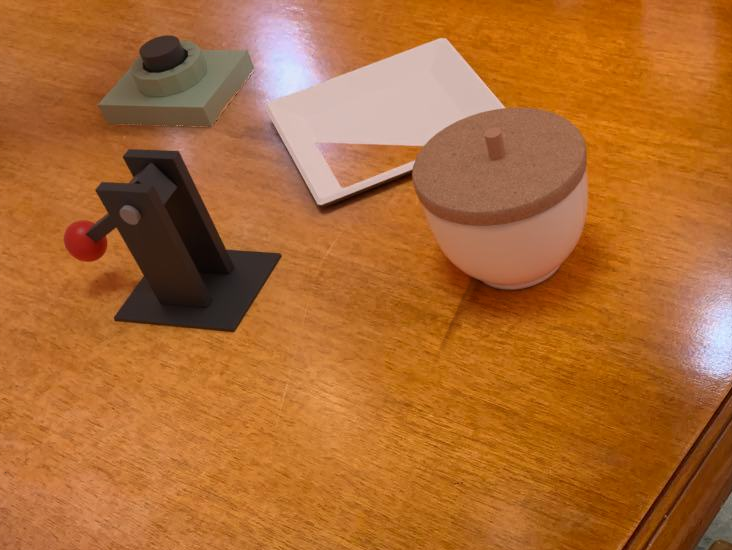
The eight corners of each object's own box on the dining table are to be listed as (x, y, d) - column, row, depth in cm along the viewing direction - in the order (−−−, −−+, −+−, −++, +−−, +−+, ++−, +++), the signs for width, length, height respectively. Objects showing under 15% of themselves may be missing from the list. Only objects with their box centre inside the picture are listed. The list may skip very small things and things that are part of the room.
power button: (139, 74, 100) (131, 57, 99) (159, 52, 102) (151, 35, 101) (174, 75, 99) (167, 57, 98) (193, 52, 101) (186, 35, 100)
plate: (325, 224, 87) (317, 203, 85) (270, 122, 98) (262, 102, 96) (524, 145, 90) (521, 123, 88) (449, 55, 101) (444, 34, 99)
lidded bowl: (479, 200, 86) (450, 75, 77) (621, 219, 82) (608, 89, 73) (412, 300, 80) (373, 176, 71) (563, 326, 75) (541, 198, 66)
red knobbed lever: (83, 275, 83) (49, 246, 81) (103, 250, 85) (69, 221, 83) (165, 214, 75) (129, 180, 73) (185, 186, 77) (150, 153, 75)
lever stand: (119, 329, 83) (41, 205, 73) (171, 256, 88) (104, 131, 78) (238, 340, 80) (173, 212, 70) (285, 264, 85) (230, 135, 75)
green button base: (108, 125, 102) (88, 87, 99) (155, 69, 108) (137, 32, 105) (212, 128, 99) (194, 89, 96) (255, 70, 104) (240, 32, 101)
